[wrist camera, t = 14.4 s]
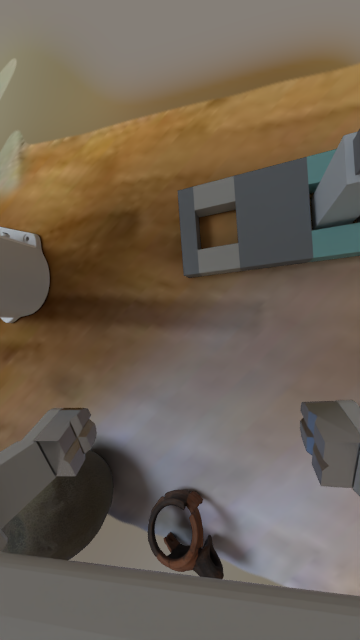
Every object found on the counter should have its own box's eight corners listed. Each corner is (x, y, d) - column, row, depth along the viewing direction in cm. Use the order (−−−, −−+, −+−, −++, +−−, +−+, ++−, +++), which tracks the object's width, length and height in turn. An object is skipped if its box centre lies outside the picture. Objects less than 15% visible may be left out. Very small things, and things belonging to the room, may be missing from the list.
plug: (312, 230, 29) (360, 166, 16) (310, 199, 29) (356, 110, 16) (349, 224, 28) (432, 149, 15) (347, 192, 27) (428, 88, 15)
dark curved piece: (154, 525, 38) (129, 541, 31) (183, 470, 41) (166, 474, 34) (214, 594, 32) (200, 632, 25) (244, 524, 34) (239, 542, 28)
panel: (188, 278, 34) (183, 275, 32) (182, 199, 34) (177, 190, 32) (381, 252, 27) (394, 246, 24) (375, 151, 26) (387, 135, 24)
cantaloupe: (134, 443, 38) (63, 522, 24) (122, 518, 39) (48, 635, 25) (69, 417, 42) (-24, 470, 28) (60, 485, 44) (-33, 569, 29)
